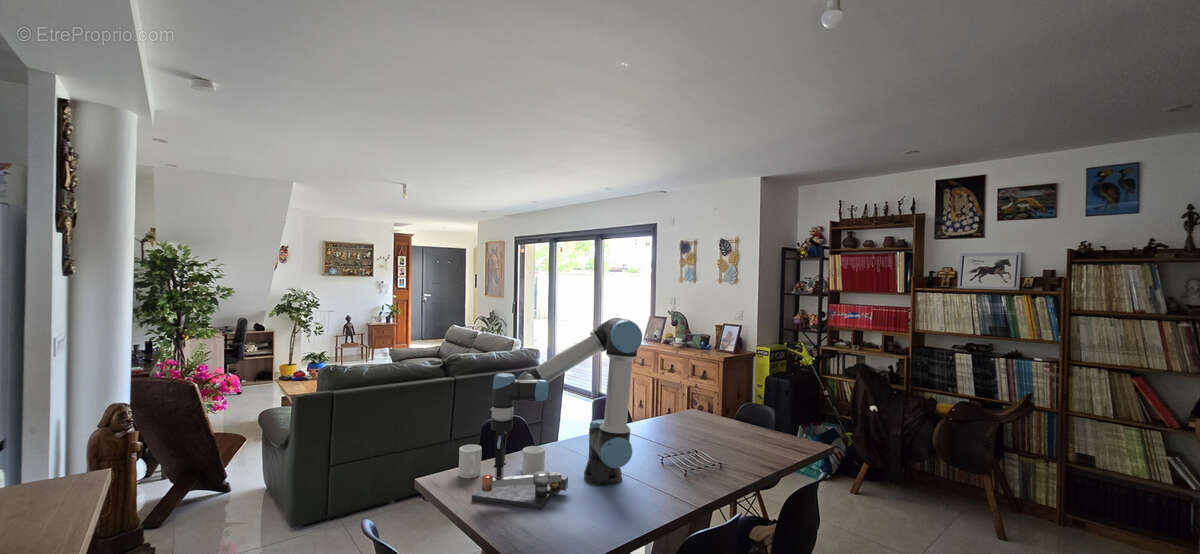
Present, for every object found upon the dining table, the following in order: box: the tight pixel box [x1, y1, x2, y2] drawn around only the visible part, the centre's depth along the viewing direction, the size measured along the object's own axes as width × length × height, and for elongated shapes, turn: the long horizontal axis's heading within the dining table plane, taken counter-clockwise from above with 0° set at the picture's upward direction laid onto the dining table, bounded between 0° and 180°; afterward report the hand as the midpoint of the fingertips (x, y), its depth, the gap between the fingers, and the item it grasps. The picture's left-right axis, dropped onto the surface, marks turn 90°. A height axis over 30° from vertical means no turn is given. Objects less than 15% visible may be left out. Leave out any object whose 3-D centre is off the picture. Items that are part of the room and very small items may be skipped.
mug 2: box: [519, 445, 546, 475], centre depth 202 cm, size 12×9×9 cm
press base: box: [471, 475, 569, 511], centre depth 177 cm, size 30×16×6 cm, turn 77°
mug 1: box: [458, 444, 483, 479], centre depth 195 cm, size 9×12×11 cm
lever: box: [481, 470, 563, 492], centre depth 174 cm, size 28×6×4 cm, turn 107°
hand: (498, 484), depth 173 cm, fingers closed
